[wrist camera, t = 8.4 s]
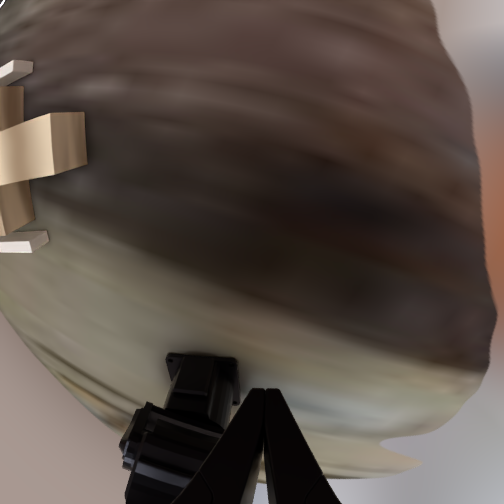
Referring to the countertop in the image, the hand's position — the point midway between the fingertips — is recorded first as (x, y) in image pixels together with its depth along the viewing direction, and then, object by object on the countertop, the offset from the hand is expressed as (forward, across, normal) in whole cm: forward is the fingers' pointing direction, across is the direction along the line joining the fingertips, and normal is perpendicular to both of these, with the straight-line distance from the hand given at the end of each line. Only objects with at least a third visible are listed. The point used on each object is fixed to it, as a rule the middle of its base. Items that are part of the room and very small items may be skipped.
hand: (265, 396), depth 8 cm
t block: (+13, +19, -8) cm, 24 cm away
